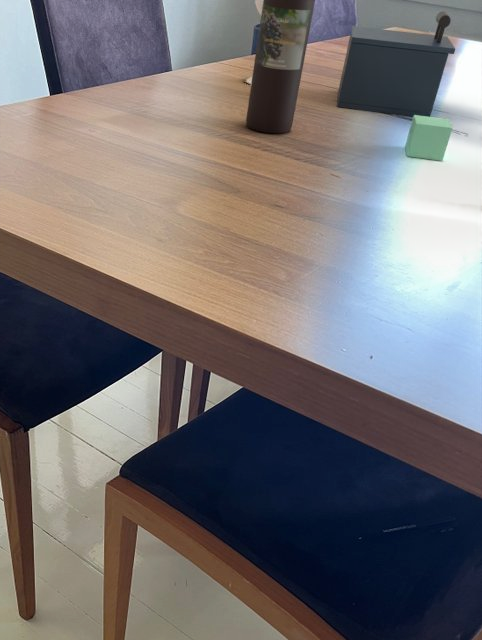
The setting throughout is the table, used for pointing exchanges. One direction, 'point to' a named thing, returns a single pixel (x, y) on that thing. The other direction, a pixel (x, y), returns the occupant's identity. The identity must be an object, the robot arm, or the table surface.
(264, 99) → the wine bottle
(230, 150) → the table surface
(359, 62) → the cool box
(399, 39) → the lid
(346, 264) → the table surface
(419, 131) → the mint toy cube
